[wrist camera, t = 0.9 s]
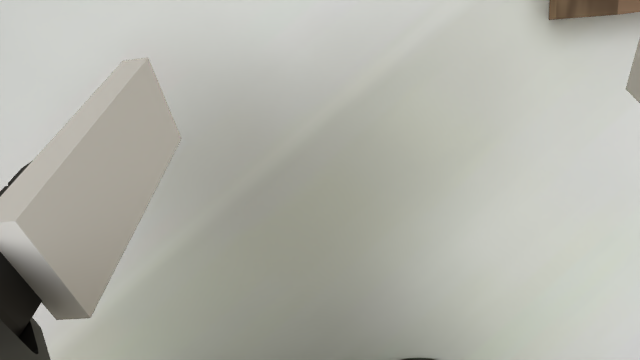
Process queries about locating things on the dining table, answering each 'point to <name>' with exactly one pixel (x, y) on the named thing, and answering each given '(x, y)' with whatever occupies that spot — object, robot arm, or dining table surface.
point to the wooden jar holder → (591, 8)
